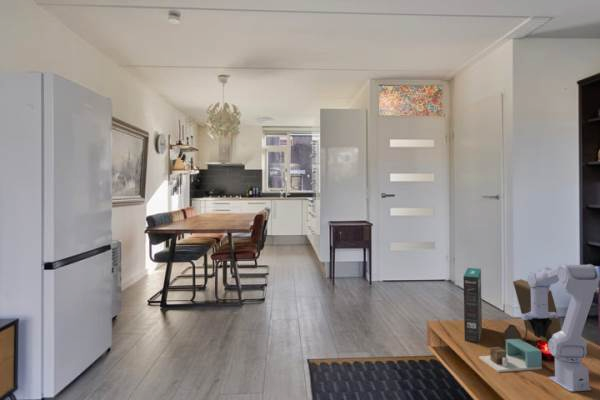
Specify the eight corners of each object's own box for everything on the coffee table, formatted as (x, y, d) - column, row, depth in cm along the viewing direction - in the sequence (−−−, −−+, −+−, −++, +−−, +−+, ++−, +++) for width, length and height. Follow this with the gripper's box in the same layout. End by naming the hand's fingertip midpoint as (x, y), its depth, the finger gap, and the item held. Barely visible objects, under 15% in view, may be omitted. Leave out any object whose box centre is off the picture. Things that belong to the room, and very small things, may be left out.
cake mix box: (479, 343, 163) (477, 277, 163) (464, 340, 166) (463, 276, 166) (481, 327, 182) (480, 268, 182) (468, 325, 185) (467, 267, 185)
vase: (524, 348, 156) (523, 328, 156) (506, 347, 157) (506, 327, 157) (517, 342, 163) (517, 323, 163) (501, 341, 164) (501, 322, 164)
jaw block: (506, 363, 141) (506, 351, 141) (496, 364, 140) (496, 351, 140) (499, 359, 145) (499, 346, 145) (490, 359, 144) (490, 347, 144)
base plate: (541, 368, 138) (541, 358, 138) (498, 372, 136) (498, 361, 136) (519, 355, 150) (519, 345, 150) (479, 358, 148) (478, 348, 148)
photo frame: (534, 328, 178) (532, 278, 178) (565, 347, 157) (564, 290, 157) (504, 329, 179) (502, 279, 179) (531, 347, 157) (529, 291, 157)
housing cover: (541, 366, 138) (541, 350, 138) (527, 367, 137) (527, 351, 137) (519, 352, 150) (518, 338, 150) (505, 353, 149) (505, 339, 149)
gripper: (547, 299, 149) (548, 331, 149) (515, 300, 147) (516, 333, 147) (562, 304, 142) (562, 338, 142) (528, 306, 140) (529, 340, 140)
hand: (539, 336), depth 144 cm, fingers closed
